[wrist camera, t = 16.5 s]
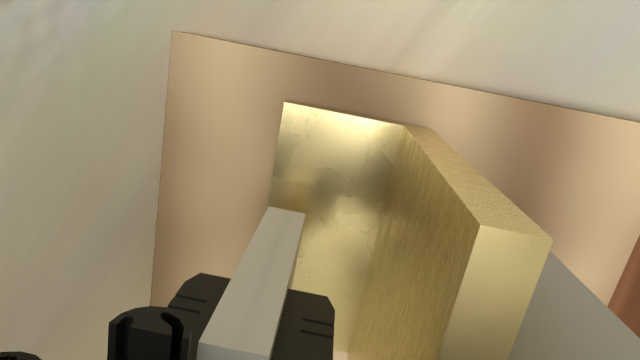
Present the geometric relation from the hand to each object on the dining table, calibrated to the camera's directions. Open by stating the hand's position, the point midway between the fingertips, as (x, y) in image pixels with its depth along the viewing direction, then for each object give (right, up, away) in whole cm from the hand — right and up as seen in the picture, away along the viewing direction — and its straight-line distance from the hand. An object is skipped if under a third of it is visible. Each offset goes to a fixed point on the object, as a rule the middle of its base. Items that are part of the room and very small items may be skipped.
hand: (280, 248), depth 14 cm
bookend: (+2, 0, +2) cm, 3 cm away
